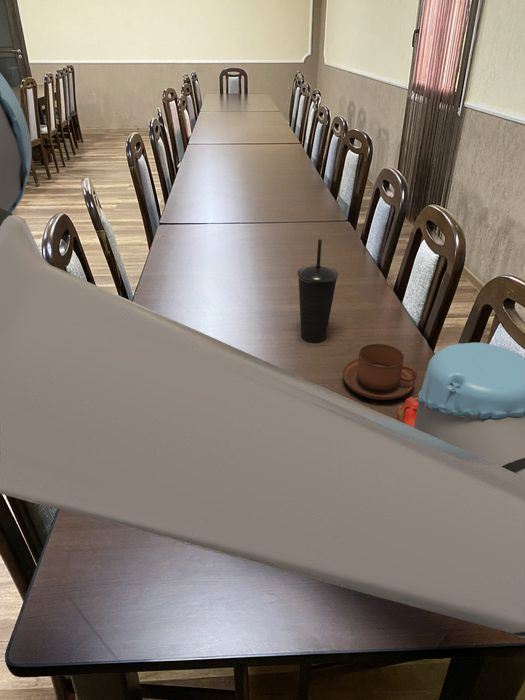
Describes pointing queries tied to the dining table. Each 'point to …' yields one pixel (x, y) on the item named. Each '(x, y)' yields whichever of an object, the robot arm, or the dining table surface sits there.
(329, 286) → the drinking cup
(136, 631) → the dining table surface
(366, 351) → the cup and saucer
